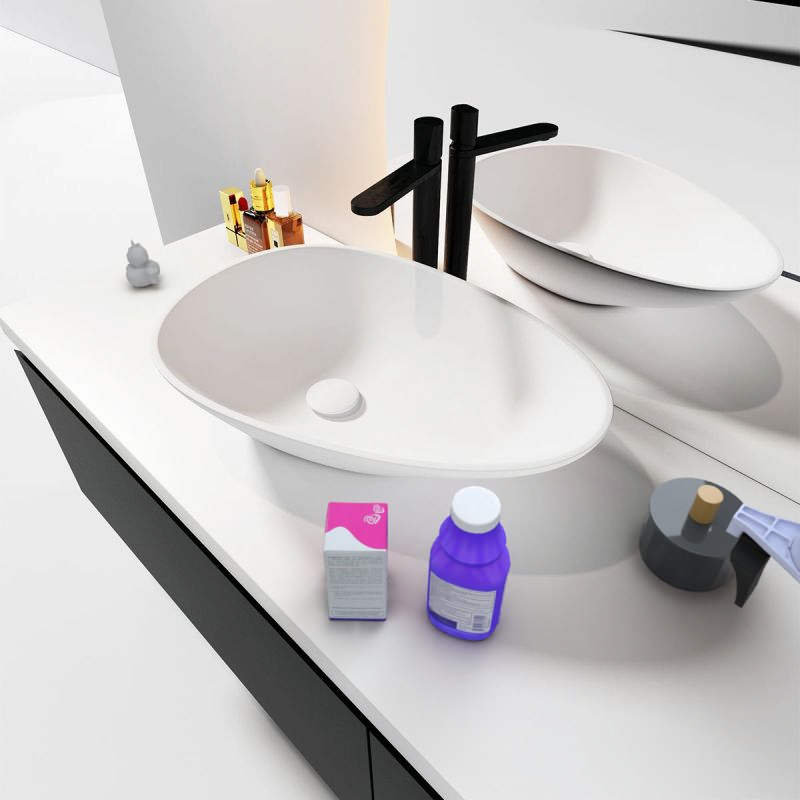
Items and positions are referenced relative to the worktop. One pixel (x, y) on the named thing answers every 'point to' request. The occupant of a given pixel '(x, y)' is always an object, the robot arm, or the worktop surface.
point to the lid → (695, 516)
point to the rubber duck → (141, 267)
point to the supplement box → (356, 561)
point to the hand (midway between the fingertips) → (787, 626)
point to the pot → (680, 563)
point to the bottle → (469, 567)
